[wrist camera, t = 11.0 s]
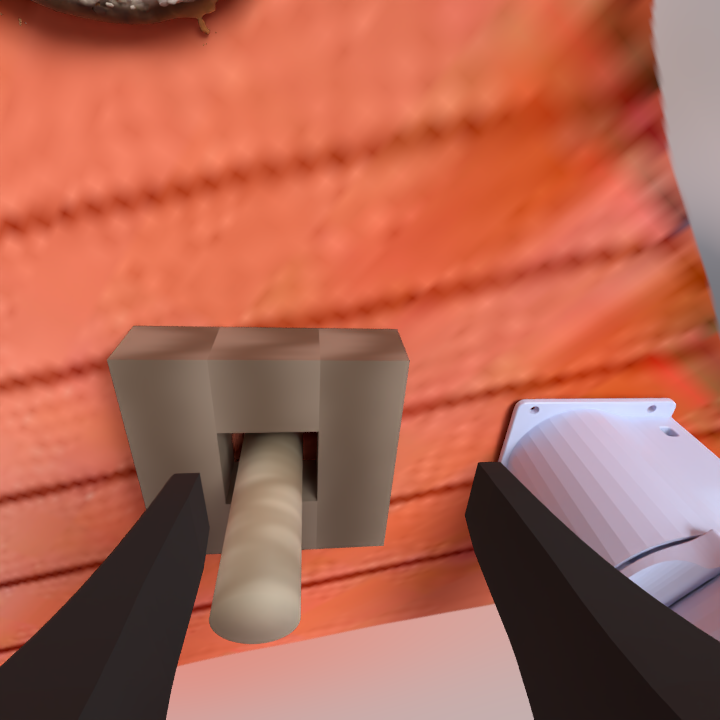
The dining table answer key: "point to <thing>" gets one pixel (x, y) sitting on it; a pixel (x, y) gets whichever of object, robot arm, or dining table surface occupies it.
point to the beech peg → (262, 543)
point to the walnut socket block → (268, 416)
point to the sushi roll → (133, 10)
